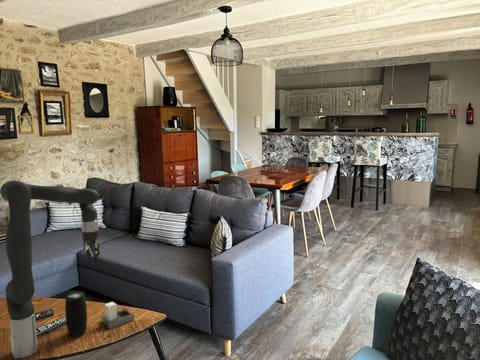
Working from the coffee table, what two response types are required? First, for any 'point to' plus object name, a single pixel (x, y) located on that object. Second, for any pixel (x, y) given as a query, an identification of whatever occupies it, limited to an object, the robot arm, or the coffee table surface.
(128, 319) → the panel
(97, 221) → the robot arm
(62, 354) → the coffee table surface
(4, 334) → the coffee table surface
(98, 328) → the coffee table surface
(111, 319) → the plug
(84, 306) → the portable speaker
